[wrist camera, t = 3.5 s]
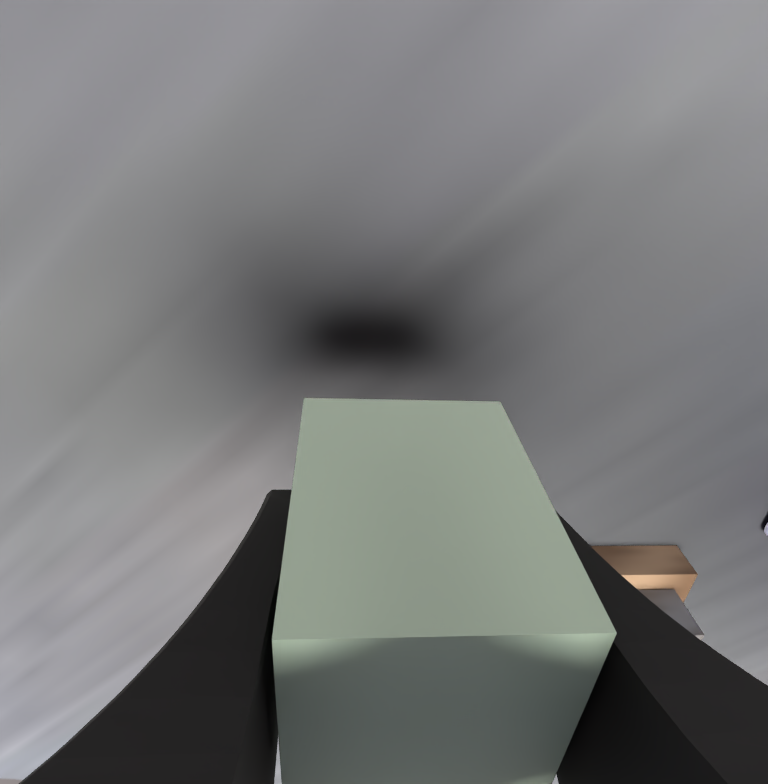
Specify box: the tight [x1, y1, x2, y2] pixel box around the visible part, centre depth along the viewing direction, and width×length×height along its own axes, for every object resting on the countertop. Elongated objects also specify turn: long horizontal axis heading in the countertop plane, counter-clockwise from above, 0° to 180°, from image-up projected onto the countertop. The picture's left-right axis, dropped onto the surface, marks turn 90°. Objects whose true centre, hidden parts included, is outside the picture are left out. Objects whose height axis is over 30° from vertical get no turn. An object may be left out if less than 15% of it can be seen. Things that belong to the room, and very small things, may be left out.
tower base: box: [591, 545, 698, 602], centre depth 29 cm, size 12×12×2 cm
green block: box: [272, 398, 617, 784], centre depth 10 cm, size 4×4×6 cm
